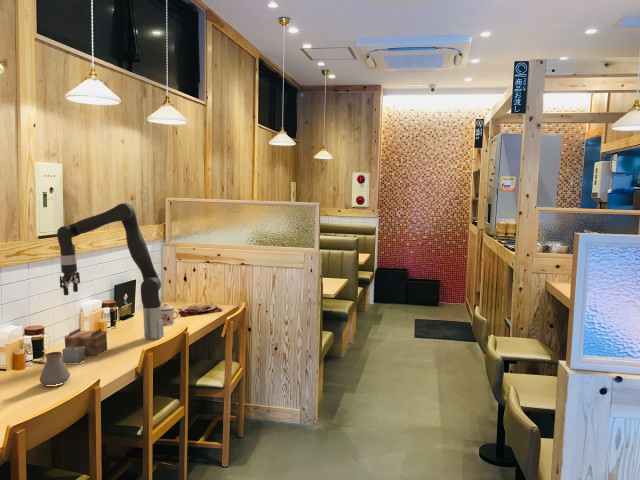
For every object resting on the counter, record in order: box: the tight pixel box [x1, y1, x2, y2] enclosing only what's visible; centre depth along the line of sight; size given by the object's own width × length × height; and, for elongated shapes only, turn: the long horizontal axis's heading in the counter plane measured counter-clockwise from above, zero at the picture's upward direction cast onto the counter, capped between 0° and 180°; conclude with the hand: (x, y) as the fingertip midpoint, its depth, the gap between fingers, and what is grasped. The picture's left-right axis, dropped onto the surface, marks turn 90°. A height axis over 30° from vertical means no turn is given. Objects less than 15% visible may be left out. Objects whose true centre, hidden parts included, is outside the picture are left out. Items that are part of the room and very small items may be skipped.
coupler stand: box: [64, 328, 108, 357], centre depth 253 cm, size 16×10×11 cm, turn 86°
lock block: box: [61, 346, 86, 363], centre depth 240 cm, size 8×5×7 cm, turn 86°
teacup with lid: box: [161, 302, 179, 325], centre depth 309 cm, size 12×9×12 cm
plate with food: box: [176, 303, 224, 317], centre depth 340 cm, size 25×26×4 cm
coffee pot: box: [27, 351, 71, 386], centre depth 209 cm, size 21×12×15 cm, turn 178°
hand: (71, 293), depth 271 cm, fingers open, 8 cm apart
